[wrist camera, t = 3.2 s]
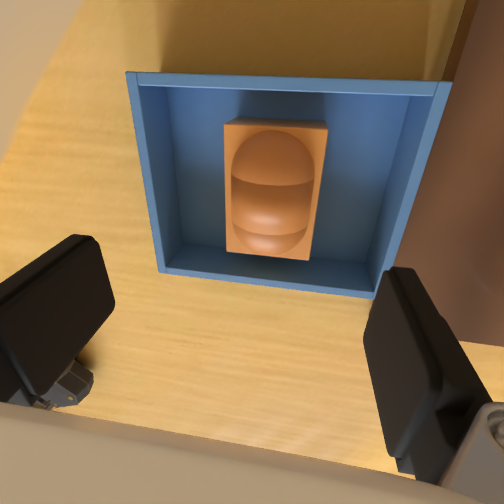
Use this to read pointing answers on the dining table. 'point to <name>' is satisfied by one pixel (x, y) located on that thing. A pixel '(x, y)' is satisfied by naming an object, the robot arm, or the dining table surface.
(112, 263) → the dining table surface
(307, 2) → the dining table surface
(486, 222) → the board
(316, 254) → the bin
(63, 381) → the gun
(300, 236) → the bread
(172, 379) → the dining table surface
